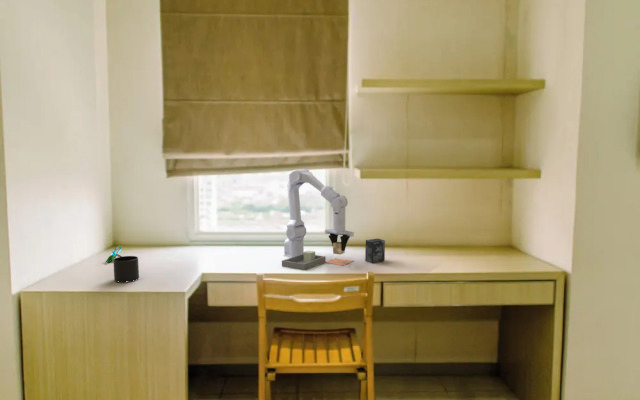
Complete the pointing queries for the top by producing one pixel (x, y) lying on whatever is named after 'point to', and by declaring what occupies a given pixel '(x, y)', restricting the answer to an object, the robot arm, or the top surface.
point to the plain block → (309, 256)
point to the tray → (302, 262)
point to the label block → (337, 248)
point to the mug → (126, 268)
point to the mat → (339, 262)
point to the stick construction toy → (114, 254)
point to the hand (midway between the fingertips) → (339, 249)
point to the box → (375, 250)
